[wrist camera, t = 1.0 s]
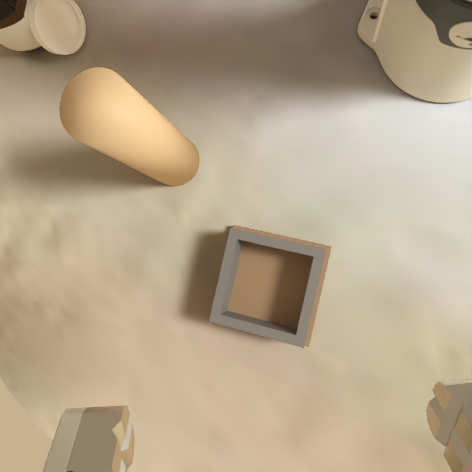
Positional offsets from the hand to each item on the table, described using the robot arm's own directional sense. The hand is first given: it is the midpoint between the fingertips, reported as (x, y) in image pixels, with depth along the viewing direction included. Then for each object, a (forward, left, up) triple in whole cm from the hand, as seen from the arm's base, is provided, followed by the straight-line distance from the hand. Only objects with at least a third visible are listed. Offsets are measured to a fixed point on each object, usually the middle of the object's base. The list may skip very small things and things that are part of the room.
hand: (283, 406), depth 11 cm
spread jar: (-26, -41, -35) cm, 60 cm away
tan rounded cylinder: (-12, -19, -35) cm, 41 cm away
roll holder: (0, -5, -35) cm, 35 cm away
